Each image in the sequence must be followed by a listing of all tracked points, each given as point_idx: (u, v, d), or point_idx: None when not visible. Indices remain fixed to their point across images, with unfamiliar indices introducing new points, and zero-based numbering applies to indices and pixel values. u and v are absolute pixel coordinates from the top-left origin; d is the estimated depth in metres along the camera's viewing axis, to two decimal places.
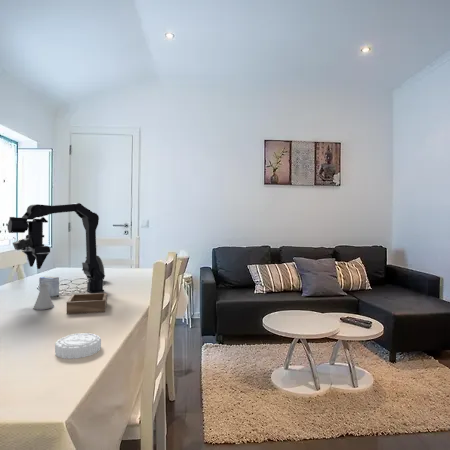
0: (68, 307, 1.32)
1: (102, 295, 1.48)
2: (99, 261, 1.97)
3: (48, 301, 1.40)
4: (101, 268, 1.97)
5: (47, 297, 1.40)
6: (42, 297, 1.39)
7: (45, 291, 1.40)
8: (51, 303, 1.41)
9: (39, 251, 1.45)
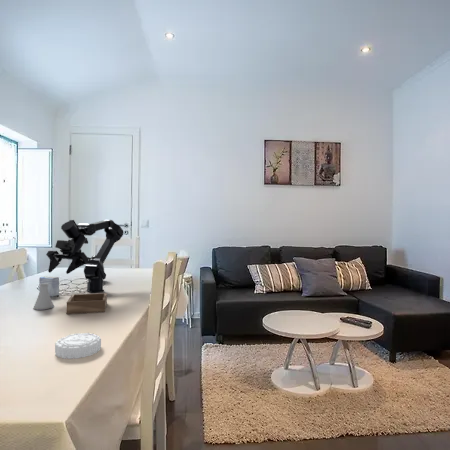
0: (68, 307, 1.32)
1: (102, 295, 1.48)
2: None
3: (48, 301, 1.40)
4: None
5: (47, 297, 1.40)
6: (42, 297, 1.39)
7: (45, 291, 1.40)
8: (51, 303, 1.41)
9: (83, 257, 1.50)
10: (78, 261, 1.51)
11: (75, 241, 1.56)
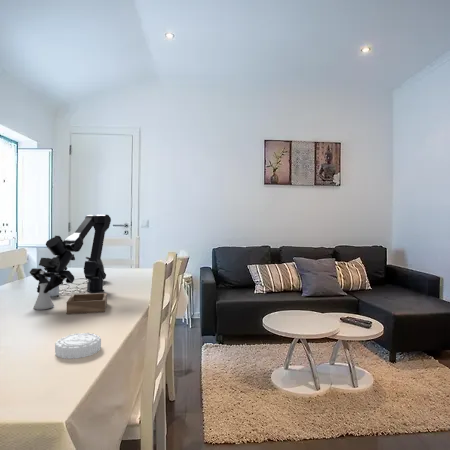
0: (68, 307, 1.32)
1: (102, 295, 1.48)
2: None
3: (48, 301, 1.40)
4: None
5: (47, 297, 1.40)
6: (42, 297, 1.39)
7: None
8: (51, 303, 1.41)
9: (68, 275, 1.41)
10: (57, 279, 1.42)
11: (61, 258, 1.48)
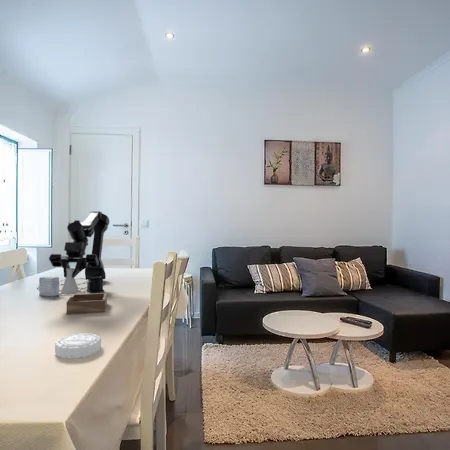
0: (68, 307, 1.32)
1: (102, 295, 1.48)
2: None
3: (76, 285, 1.40)
4: None
5: (75, 281, 1.39)
6: (70, 281, 1.38)
7: None
8: (77, 287, 1.41)
9: (96, 259, 1.43)
10: (82, 264, 1.43)
11: None
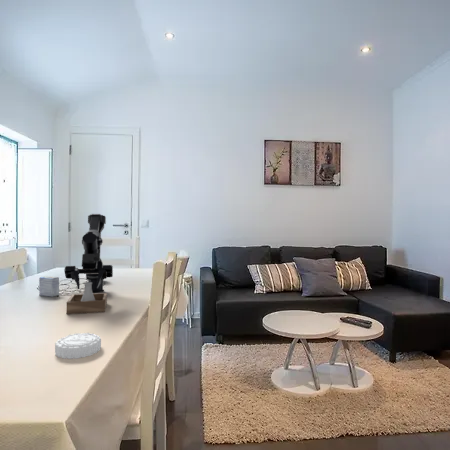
0: (68, 307, 1.32)
1: (102, 295, 1.48)
2: None
3: (94, 299, 1.42)
4: None
5: (93, 295, 1.41)
6: (90, 295, 1.40)
7: (91, 290, 1.41)
8: None
9: (112, 269, 1.46)
10: (103, 274, 1.45)
11: (93, 254, 1.48)
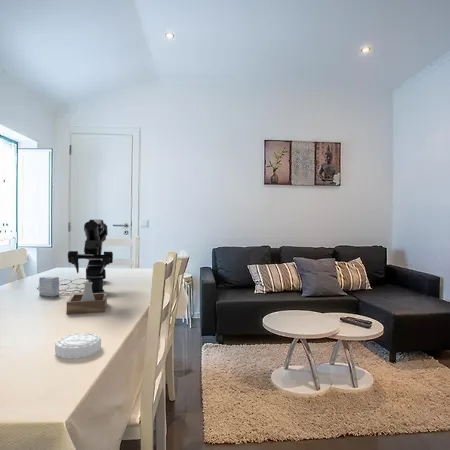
0: (68, 307, 1.32)
1: (102, 295, 1.48)
2: None
3: (94, 299, 1.42)
4: None
5: (93, 295, 1.41)
6: (90, 295, 1.40)
7: (91, 290, 1.41)
8: None
9: (112, 256, 1.55)
10: (106, 260, 1.55)
11: (95, 241, 1.57)
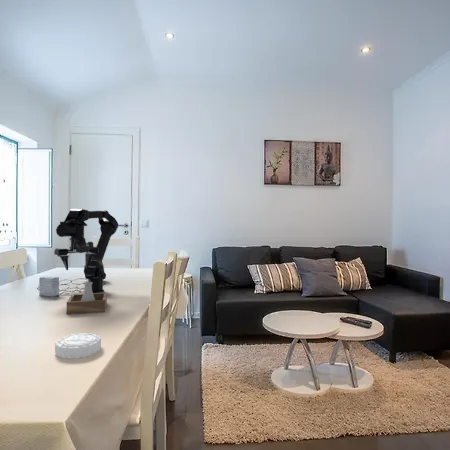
0: (68, 307, 1.32)
1: (102, 295, 1.48)
2: None
3: (94, 299, 1.42)
4: None
5: (93, 295, 1.41)
6: (90, 295, 1.40)
7: (91, 290, 1.41)
8: None
9: None
10: None
11: (82, 235, 1.59)
